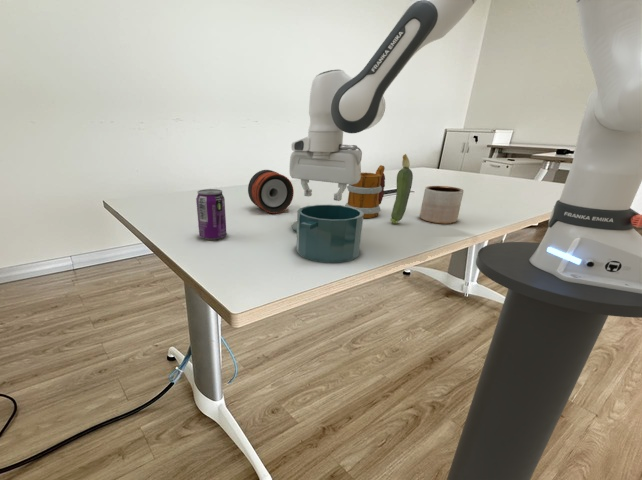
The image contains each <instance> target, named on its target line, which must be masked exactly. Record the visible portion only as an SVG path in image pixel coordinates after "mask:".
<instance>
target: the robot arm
mask: <svg viewBox="0 0 642 480" xmlns="http://www.w3.org/2000/svg"><path fill="white" fill-rule="evenodd" d="M476 2H477V0H409V2H408V4H407V6H406V7H405V9H404V11H403V12H402V14H401V15H400V18H399V19H398V21H397V22H396V24H395V25H394V27H393V28H392V30H391V31H390V32H389V34H388V35H387V36H386V38H385V39H384V40H383V42H382V43H381V44H380V46H379V47H378V48H377V50H376V51H375V52H374V54H373V55H372V57H371V58H370V59H369V61H368V62H367V63H366V64H365V66H364V67H363V68H362V70H361V71H360V72H359V73H358V74H356V75H355V76H354V77H351V76H350V75H349V74H347V73H346V72H345V71H344V70H342V69H330V70H326V71H323V72H320V73H318V74H317V75H315V77H314V78H313V80H312V83H311V87H310V93H309V103H308V104H309V105H308V115H309V119H310V120H309V126H308V131H307V136H306V137H304V138H300V139H298V140H295V141H292V142H291V145H290V146H291V147H290V148H291V150H292V151H293V152H291V154H290V158H289V176H290V177H291V179H295V180H300V185H301V187H302V189H303V196H304V197H308V198H309V197H311V196H312V195H313V193H312V192H313V189H312V188H311V189H310V187H309V183H310V181H314V182H322V183H330V184H331V183H332V184H337V188H339V189H338V191H337V192H335V193H333V201H336V202H340V201H342V199H343V194H344V192H345V191H346V189H347V186H348V185H349V184H350V185H353V184H357V183H358V182H359V181H360V179H361V173H362V164H361V162H362V157H363V151H362V149H361V148H360V147H358V145H355V144H343V142H344V141H343V140H344V133H346V134H359V133H361V132H363V131H365V130H369V129H372V128H373V127H374V126H376V125H377V124H379V122H380V121H381V120H382V119H383V117H384V114H385V113H386V112H385V110H386V99H385V97H384V95H385V93H386V91H387V90H388V88H389V87H390V86H391V84H392V83H393V82H394V81H395V79H396V78H397V77H398V76H399V74H400V73H402V71H403V70H404V68H405V67H406V65H407V64H408V63H409V61H410V60H411V59H412V58H413V57H414V56H415V55H416V54H417V53H418V52H419V51H420V50H421V49H423V48H424V47H426V46H427V45H429V44H430V43H432V42H435V41H438V40H440V39H442V38H445V36H446V35H447V34H448V33H450V32H451V30H453V28H454V27H455V26H457V24H458V23H460V21H461V20H462V19H463V18H464V17H465V16H466V15H467V14H468V12H469V11H470V9H471V8H472V7H473V6H474V4H475V3H476ZM575 4H576V10H577V17H578V22H579V30H580V36H581V42H582V48H583V51H584V53H585V54H586V57H587V59H588V60H587V61H588V62H589V65H590V68H591V71H592V74H593V77H594V81H595V85H596V86H595V87H594V88H593V90H592V91H591V92H590V93H589V96H588V98H587V100H586V103H585V108H584V112H583V116H582V119H581V121H580V127H579V131H578V135H577V139H576V140H577V141H576V144H575V150H574V153H573V158H572V162H571V166H570V169H569V171H568V174H567V176H566V180H565V182H564V186H563V188H562V192H561V193H560V197H559V199H558V200H556V202H555V204H554V205H553V208H552V211H551V214H550V216H549V218H548V224H547V225H548V227H547V230H546V231H545V234H544V236H543V237H542V240H541V241H540V242H539V243H540V245H539V247H538V248H537V250H536V251H535V253H534V254H533V255H532V257H531V258H530V259H529V261H530V263H531V264H532V265H534V266H535V267H537V268H539V269H541V270H544V271H546V272H548V273H551V274H553V275H555V276H556V277H558V278H559V279H561V280H564V281H568V282H573V283H580V284H586V285H592V286H598V287H604V288H610V289H616V290H622V291H629V292H635V293H641V294H642V234H640V233H639V232H638V231H637V230H636V229H635V228H642V214H641V213H639V212H638V211H636V210H634V209H632V208H631V207H632V205H633V202H634V200H635V198H636V196H637V194H638V191H639V189H640V187H641V184H642V0H575Z"/></svg>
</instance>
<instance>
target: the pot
mask: <svg viewBox="0 0 642 480" xmlns="http://www.w3.org/2000/svg"><path fill="white" fill-rule="evenodd" d="M296 215H297V216H296V221H297V231H296V242H295V243H296V246H295V249H296V253H297V254H298V255H299V256H300V257H302V258H304V259H306V260H310V261H313V262H318V263H326V264H327V263H328V264H331V263H332V264H335V263H336V264H337V263H346V262H349V261H354V260H355V259H357V258H358V257H359V255H360V249H361V241H362V234H363V233H362V232H363V231H362V230H363V224H364V223H363V222H364V218H363V216H364V213H363V212H362V211H361V210H359V209H356V208H353V207H348V206H345V205H341V204H311V205H306V206H303V207H300V208H299V209H298V210H297V214H296Z"/></svg>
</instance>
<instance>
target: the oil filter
mask: <svg viewBox="0 0 642 480" xmlns="http://www.w3.org/2000/svg"><path fill="white" fill-rule="evenodd" d="M247 194H248V196H249V199H250V201H251V202H252V203H253V204H254V205H255V206H256V207H257V208H260V209H261V210H264V211H265V212H267V213H269V214H279V213H282V212H284V211H286V210H287V208H288V207H289V206H290V205H291V204H292V202H293V199H294V185H293V183H292V181H291V180H290V179H289V177H287V176H285V175H284V174H281V173H279V172H277V171H274V170H270V169H261V170H259V171H257V172H256V173H254V174H253V176H252V177H251V178H250V179H249V182H248V185H247Z"/></svg>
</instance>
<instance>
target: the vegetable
mask: <svg viewBox="0 0 642 480" xmlns="http://www.w3.org/2000/svg"><path fill="white" fill-rule="evenodd" d="M401 166H402V168H401V169H399V170H398V172H397V174H396V194H395V195H396V196H395V201H394V203H393V206H392V211H391V214H390V222H391V223H392V224H395V225H396V224H398V222H400V221H401V220H402V219H403V217H404V215H405V213H406V210H407V206H408V202H409V198H410V194H411V190H412V186H413V179H414V175H413V174H414V173H413V171H412V169H410V166H411V165H410V159H409V157H408V155H407V154H406V153H404V154H403V155H402V161H401Z"/></svg>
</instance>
